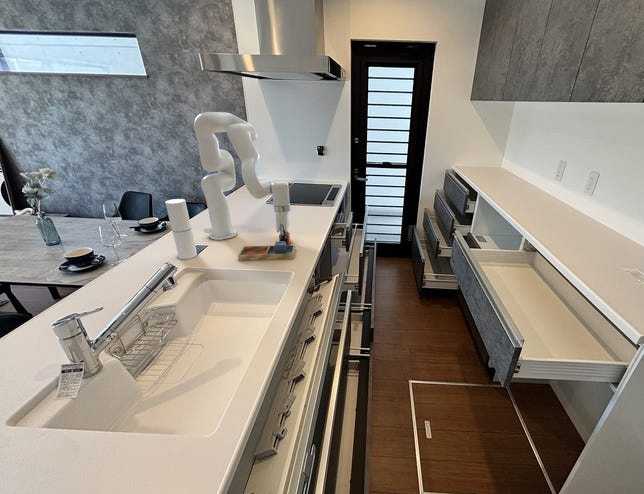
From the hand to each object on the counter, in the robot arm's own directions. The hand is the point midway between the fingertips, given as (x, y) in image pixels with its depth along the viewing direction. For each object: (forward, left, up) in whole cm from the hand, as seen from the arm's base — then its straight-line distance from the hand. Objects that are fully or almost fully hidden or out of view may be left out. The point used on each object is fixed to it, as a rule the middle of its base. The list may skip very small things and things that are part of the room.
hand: (285, 242), depth 150 cm
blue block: (0, -13, 0) cm, 13 cm away
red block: (0, 0, 0) cm, 0 cm away
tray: (-6, -13, 0) cm, 14 cm away
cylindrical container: (-41, -11, -1) cm, 42 cm away
